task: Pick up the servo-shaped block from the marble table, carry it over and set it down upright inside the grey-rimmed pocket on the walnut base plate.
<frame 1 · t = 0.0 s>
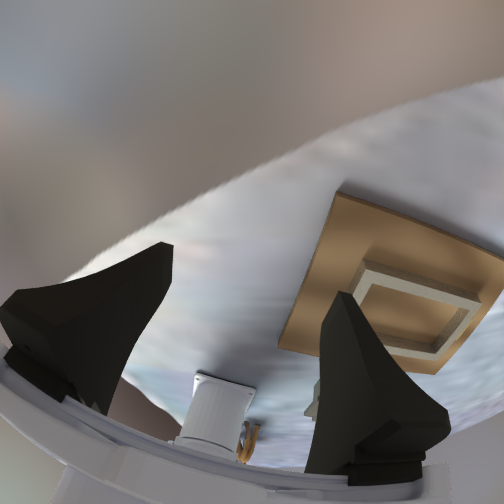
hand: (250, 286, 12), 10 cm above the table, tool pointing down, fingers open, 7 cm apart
lion figurine: (246, 433, 43), on the table
pocket plate: (404, 305, 23), on the table
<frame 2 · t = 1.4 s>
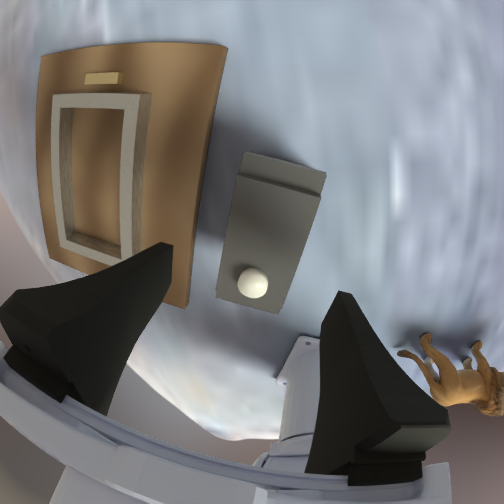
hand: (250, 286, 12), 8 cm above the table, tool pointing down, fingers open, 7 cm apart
servo block: (272, 212, 19), on the table
lion figurine: (457, 346, 22), on the table
pocket plate: (106, 173, 19), on the table
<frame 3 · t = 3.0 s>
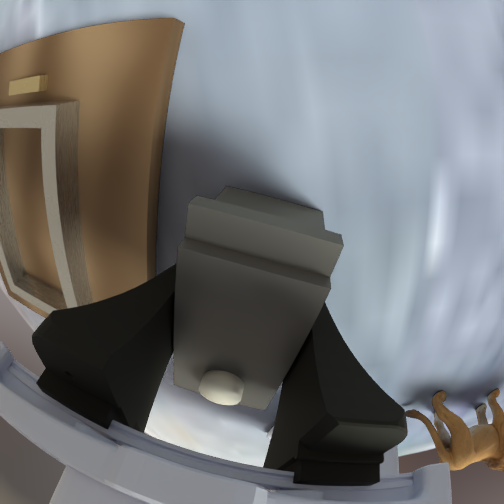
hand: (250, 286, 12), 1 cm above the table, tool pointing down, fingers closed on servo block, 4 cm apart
servo block: (256, 268, 13), on the table, touching gripper
lion figurine: (473, 396, 17), on the table
pocket plate: (46, 207, 14), on the table
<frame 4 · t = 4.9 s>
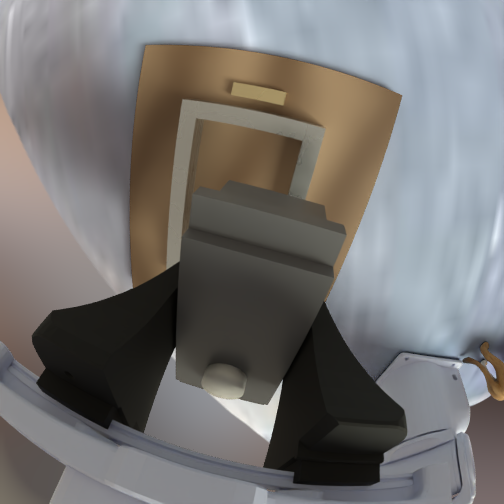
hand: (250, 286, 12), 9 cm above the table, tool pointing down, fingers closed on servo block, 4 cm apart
servo block: (258, 262, 13), point 7 cm above the table, touching gripper
lion figurine: (503, 350, 22), on the table
pocket plate: (239, 202, 19), on the table
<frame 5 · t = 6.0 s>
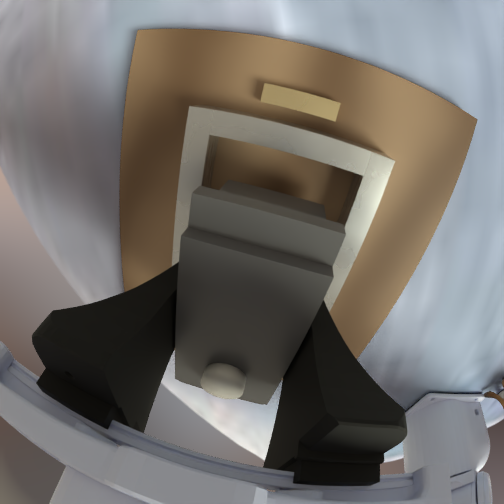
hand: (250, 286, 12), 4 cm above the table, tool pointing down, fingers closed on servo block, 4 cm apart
servo block: (257, 262, 13), point 2 cm above the table, touching gripper
pocket plate: (263, 244, 15), on the table
when the fingers open (3 cm above the table, at t = 6.9 s): servo block stays where it is, resting on pocket plate.
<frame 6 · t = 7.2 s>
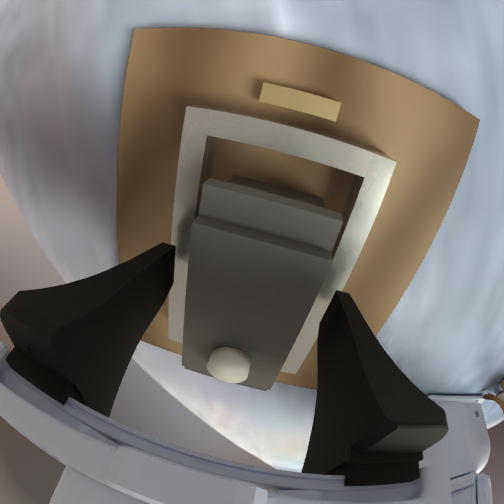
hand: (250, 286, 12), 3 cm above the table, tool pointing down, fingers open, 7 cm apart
servo block: (260, 253, 14), point 1 cm above the table, touching pocket plate
pocket plate: (262, 246, 15), on the table
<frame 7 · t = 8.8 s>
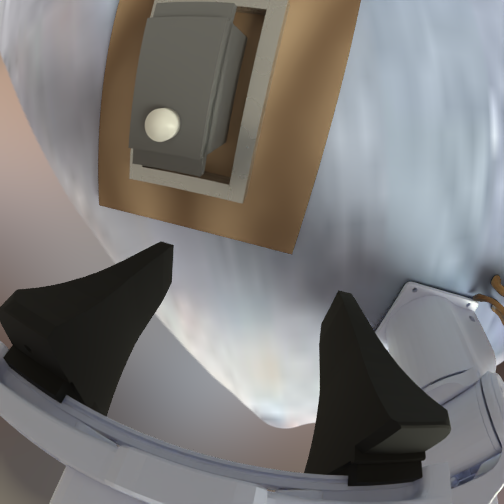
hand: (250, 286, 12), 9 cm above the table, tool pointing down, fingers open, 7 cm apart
servo block: (205, 85, 15), point 1 cm above the table, touching pocket plate
pocket plate: (209, 88, 16), on the table
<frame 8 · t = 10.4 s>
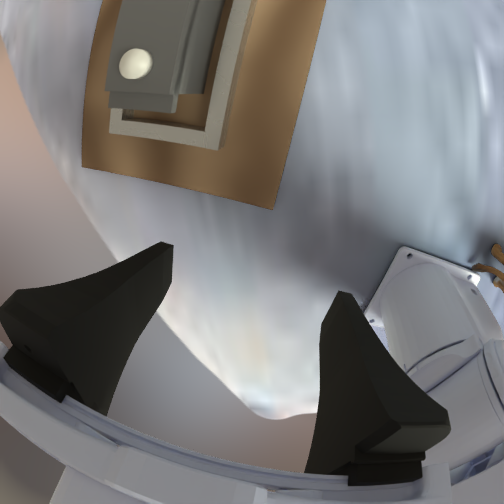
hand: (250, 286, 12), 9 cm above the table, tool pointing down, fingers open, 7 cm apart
servo block: (185, 41, 14), point 1 cm above the table, touching pocket plate
pocket plate: (189, 46, 15), on the table
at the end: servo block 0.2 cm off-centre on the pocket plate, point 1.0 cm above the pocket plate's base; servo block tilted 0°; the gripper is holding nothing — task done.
